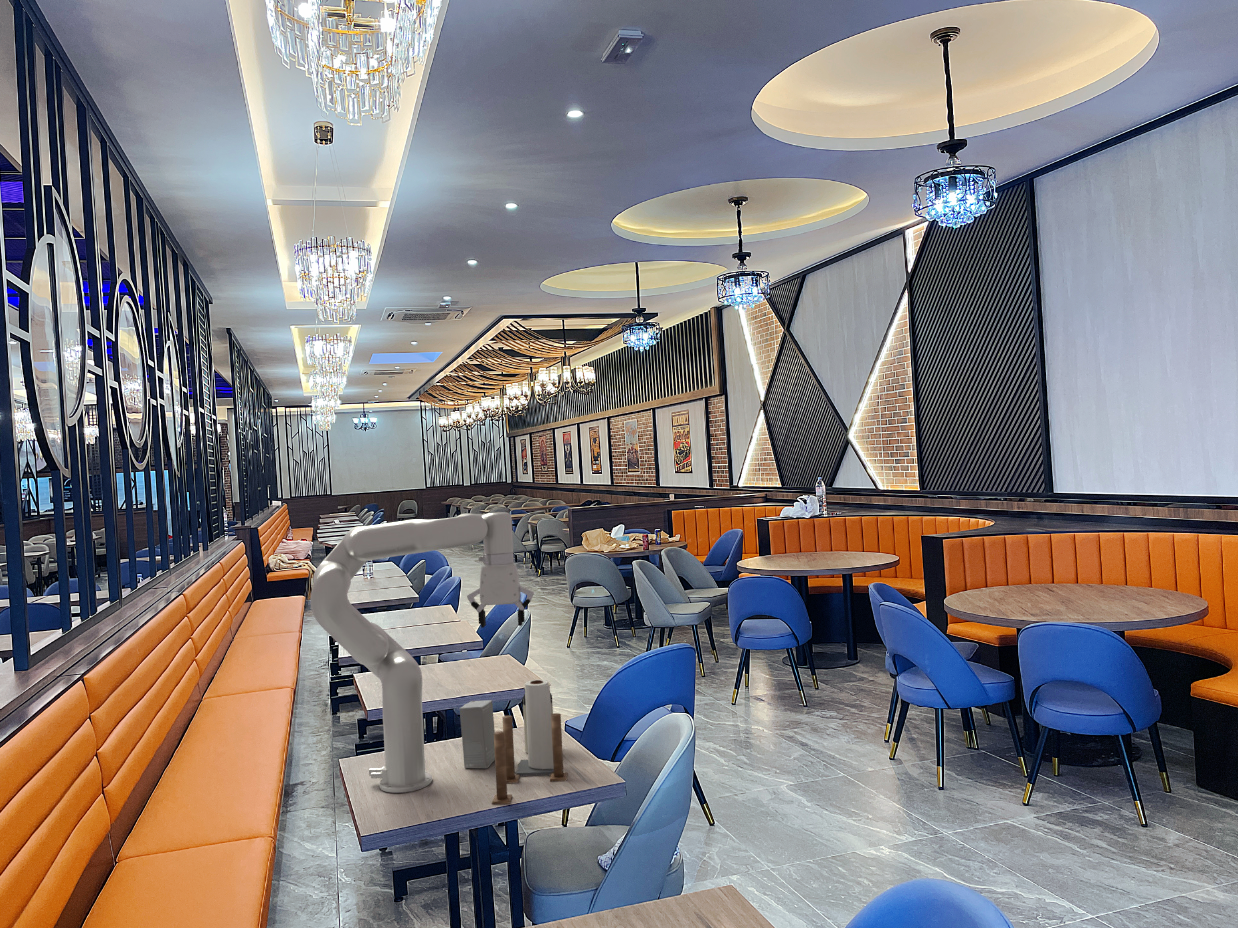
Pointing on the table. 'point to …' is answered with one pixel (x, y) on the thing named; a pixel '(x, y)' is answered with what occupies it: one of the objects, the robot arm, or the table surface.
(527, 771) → the mat
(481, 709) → the skincare box
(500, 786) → the post
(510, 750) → the post
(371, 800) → the table surface
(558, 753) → the post
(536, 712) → the paper towel roll
